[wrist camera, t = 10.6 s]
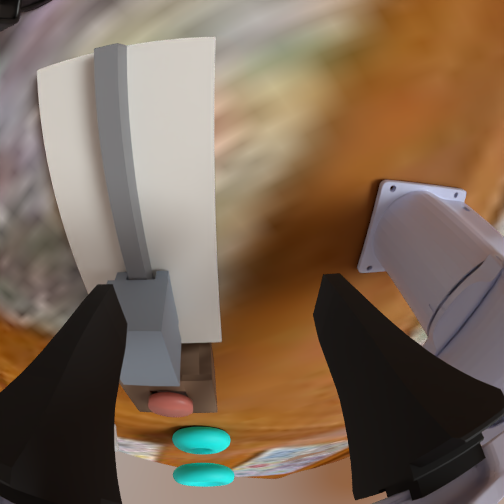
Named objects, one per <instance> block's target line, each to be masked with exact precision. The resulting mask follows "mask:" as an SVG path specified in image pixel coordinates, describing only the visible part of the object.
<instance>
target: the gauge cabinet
mask: <svg viewBox="0 0 504 504" xmlns="http://www.w3.org/2000/svg"><path fill="white" fill-rule="evenodd" d="M119 383H120V385H121V386H122V387H123V389H124V390H125V392H126V393H127V395H128V396H129V398H130V399H131V400H132V402H133V403H134V404H135V406H136V407H137V409H138V410H139V411H140V412H152V411H151V410H150V409H149V408H148V401H149V396H150V395H152V394H154V393H158V392H157V391H186V394H187V397H189V398H190V399H191V400H192V401H193V412H192V413H210V412H217V398H216V383H215V369H214V361H213V353H212V345H211V342H207V343H181V361H180V386H141V385H123V383H122V382H121V380H119Z"/></svg>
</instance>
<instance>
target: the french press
mask: <svg viewBox="0 0 504 504" xmlns="http://www.w3.org/2000/svg"><path fill="white" fill-rule="evenodd" d="M49 1H51V0H0V31H2V30H4V29H6V28H8V27H10V26H12V25H14V24H16V23H17V22H18V21H19V18H20V12H25V11H28V10H31V9H34V8H37V7H39V6H41V5H43V4H45V3H48V2H49Z"/></svg>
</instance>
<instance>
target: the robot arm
mask: <svg viewBox="0 0 504 504" xmlns="http://www.w3.org/2000/svg"><path fill="white" fill-rule="evenodd" d="M391 186H393V188H392V189H391V190H390V188H391ZM465 197H466V191H465V190H463V189H460V188H453V187H446V186H439V185H431V184H423V183H414V182H405V181H395V180H383V181H382V182H381V183H380V185H379V189H378V193H377V197H376V201H375V205H374V209H373V213H372V217H371V221H370V225H369V228H368V232H367V235H366V239H365V243H364V246H363V249H362V253H361V256H360V259H359V263H358V266H357V269H358V271H359V272H360V273H369V272H381V271H386V272H387V273H388V275H389V276H390V277H391V279H392V280H393V282H394V283H395V285H396V286H397V288H398V289H399V291H400V292H401V294H402V296H403V297H404V299H405V300H406V302H407V303H408V305H409V306H410V308H411V310H412V311H413V313H414V314H415V316H416V318H417V319H418V321H419V323H420V324H421V326H422V328H423V329H424V331H425V333H426V334H427V336H428V339H427V341H426V342H425V343H424V345H423V347H422V346H421V345H419V344H418V343H417V342H415V341H414V340H413V339H411V338H410V337H409V336H408V335H406V334H405V333H404V332H403V331H402V330H400V329H399V328H398V327H397V326H396V325H395V324H393V323H392V322H391V321H390V320H389V319H388V318H387V317H385V316H384V315H383V314H382V313H381V312H380V311H379V310H378V309H377V308H376V307H375V306H373V305H372V304H371V303H370V302H369V301H368V300H367V299H366V298H365V297H364V296H363V295H362V294H361V293H360V292H359V291H358V290H357V289H356V288H355V287H354V286H352V285H351V284H350V283H349V282H348V281H347V280H346V279H345V278H344V277H343V276H342V275H341V274H339V273H337V274H323V278H322V282H321V286H320V290H319V294H318V298H317V301H316V305H315V309H314V313H313V317H314V321H315V326H316V330H317V335H318V339H319V342H320V345H321V347H322V350H323V353H324V356H325V359H326V361H327V364H328V367H329V369H330V372H331V375H332V378H333V381H334V383H335V386H336V389H337V392H338V395H339V399H340V403H341V407H342V412H343V417H344V421H345V427H346V432H347V438H348V444H349V452H350V460H351V470H352V486H353V487H352V488H353V494H354V498H355V500H358V499H362V498H366V497H369V496H373V495H376V494H379V493H382V492H384V491H386V493H387V497H388V498H385V499H383V500H380V501H378V502H375V503H372V504H497V503H498V502H499V501H500V500H501V499H502V498H503V497H504V237H503V236H502V235H501V234H500V233H499V232H498V231H497V230H496V229H495V228H494V227H493V226H491V225H490V224H489V223H488V222H487V221H486V220H485V219H483V218H482V217H481V216H480V215H479V214H478V213H476V212H475V211H474V210H473V209H472V208H470V207H469V206H468V205H467V204H465V203H464V201H465ZM368 266H369V267H368ZM367 267H368V268H367ZM127 326H128V323H127V321H126V318H125V316H124V313H123V311H122V308H121V306H120V303H119V300H118V298H117V295H116V292H115V289H114V286H113V284H97V285H96V286H95V288H94V289H93V290H92V291H91V292H90V293H89V295H88V296H87V297H86V298H85V299H84V301H83V302H82V303H81V304H80V306H79V307H78V308H77V309H76V311H75V312H74V313H73V314H72V316H71V317H70V318H69V319H68V320H67V322H66V323H65V324H64V326H63V327H62V328H61V329H60V330H59V332H58V333H57V334H56V335H55V336H54V337H53V339H52V340H51V341H50V342H49V343H48V345H47V346H46V347H45V348H44V349H43V351H42V352H41V353H40V354H39V355H38V356H37V357H36V358H35V360H34V361H33V362H32V363H31V364H30V365H29V366H28V367H27V368H26V369H25V370H24V371H23V372H22V373H21V374H20V375H19V376H18V377H17V378H16V379H15V380H13V381H12V382H11V383H10V384H9V385H8V386H7V387H6V388H5V389H4V390H3V391H2V392H0V504H122V501H121V496H120V491H119V485H118V479H117V471H116V462H115V444H114V416H115V404H116V397H117V392H118V386H119V380H120V375H121V370H122V364H123V359H124V354H125V348H126V338H127ZM481 445H482V446H481Z"/></svg>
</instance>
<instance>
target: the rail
mask: <svg viewBox="0 0 504 504" xmlns="http://www.w3.org/2000/svg"><path fill="white" fill-rule="evenodd" d="M215 42H216V37H197V38H182V39H170V40H161V41H153V42H146V43H139V44H133V45H123V44H119V43H117V44H112V45H107V46H103V47H99V48H95V49H94V53H90V54H87V55H83V56H79V57H76V58H72V59H69V60H66V61H62V62H59V63H56V64H53V65H50V66H48V67H45V68H42V69H39V70H37V82H38V97H39V108H40V117H41V125H42V132H43V139H44V145H45V151H46V157H47V162H48V167H49V171H50V176H51V181H52V185H53V189H54V193H55V197H56V201H57V205H58V208H59V212H60V215H61V219H62V222H63V226H64V229H65V232H66V235H67V238H68V241H69V244H70V247H71V250H72V253H73V256H74V259H75V261H76V264H77V267H78V269H79V272H80V275H81V277H82V280H83V282H84V285H85V287H86V289H87V292H88V294H89V293H90V292H91V291H92V290H93V289H94V288H95V286H96V285H97V284H107V281H108V280H115V278H116V275H117V272H127V275H128V278H129V280H150V279H155V277H156V272H157V271H169V276H170V281H171V286H172V292H173V297H174V302H175V306H176V311H177V316H178V320H179V324H178V327H179V332H180V336H181V343H207V342H222V337H221V321H220V305H219V287H218V267H217V243H216V214H215V168H214V83H215Z"/></svg>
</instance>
